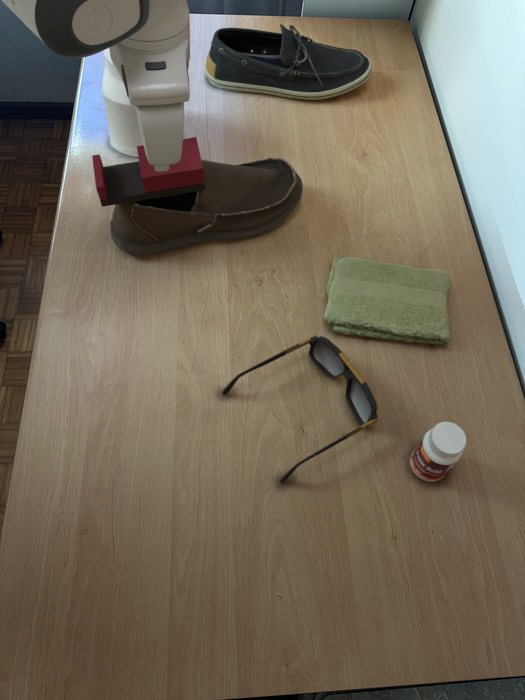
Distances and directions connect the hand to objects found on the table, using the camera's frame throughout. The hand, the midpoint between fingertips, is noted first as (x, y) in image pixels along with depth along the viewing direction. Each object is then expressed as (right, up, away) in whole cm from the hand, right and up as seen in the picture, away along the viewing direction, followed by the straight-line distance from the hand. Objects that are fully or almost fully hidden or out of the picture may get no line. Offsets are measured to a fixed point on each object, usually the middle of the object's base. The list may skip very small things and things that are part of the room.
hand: (156, 141), depth 84 cm
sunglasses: (+18, -34, +1) cm, 39 cm away
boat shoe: (+18, +21, +35) cm, 45 cm away
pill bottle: (+34, -41, -2) cm, 53 cm away
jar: (-6, +9, +25) cm, 28 cm away
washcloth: (+31, -20, +10) cm, 39 cm away
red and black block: (-2, -4, +6) cm, 7 cm away
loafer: (+6, -7, +16) cm, 19 cm away
